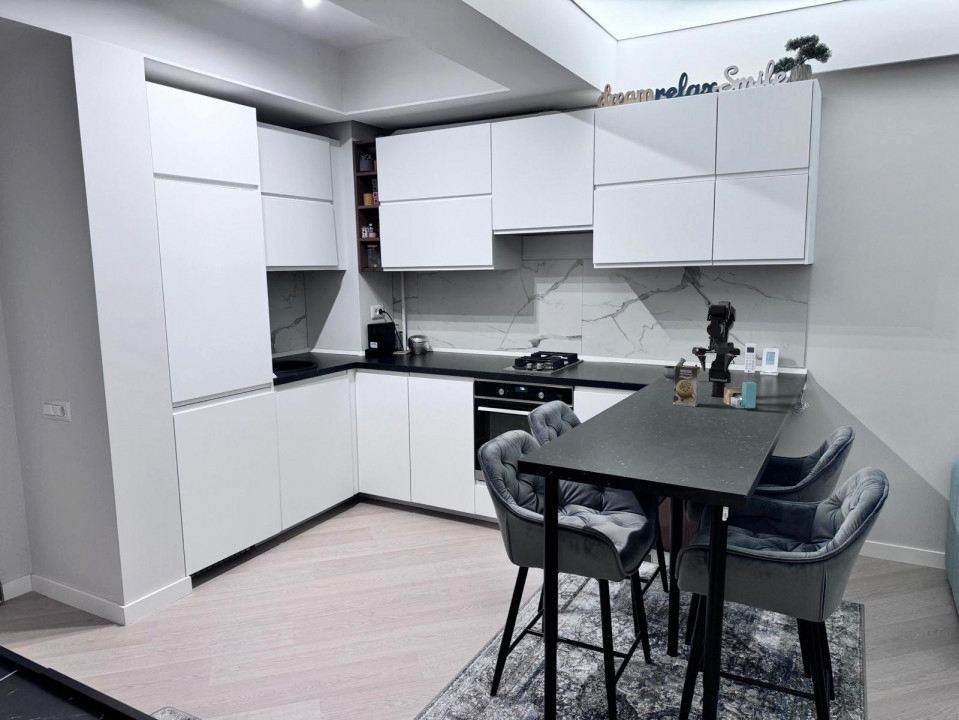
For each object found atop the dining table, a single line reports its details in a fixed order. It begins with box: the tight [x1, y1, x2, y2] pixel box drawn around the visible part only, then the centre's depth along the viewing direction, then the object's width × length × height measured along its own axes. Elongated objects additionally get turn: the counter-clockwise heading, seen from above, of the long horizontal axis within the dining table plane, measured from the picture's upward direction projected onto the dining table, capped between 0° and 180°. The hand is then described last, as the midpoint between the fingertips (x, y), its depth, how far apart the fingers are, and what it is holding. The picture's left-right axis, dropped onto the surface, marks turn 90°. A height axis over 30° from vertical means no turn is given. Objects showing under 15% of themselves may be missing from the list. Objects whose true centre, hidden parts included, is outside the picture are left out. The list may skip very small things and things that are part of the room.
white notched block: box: [730, 397, 745, 409], centre depth 273 cm, size 6×6×3 cm
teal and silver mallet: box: [732, 381, 758, 409], centre depth 271 cm, size 14×4×10 cm, turn 3°
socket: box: [723, 386, 742, 406], centre depth 279 cm, size 5×7×7 cm
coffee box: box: [672, 364, 701, 407], centre depth 275 cm, size 9×6×16 cm
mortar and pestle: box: [662, 357, 687, 383], centre depth 334 cm, size 11×9×12 cm
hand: (714, 371), depth 281 cm, fingers open, 9 cm apart
